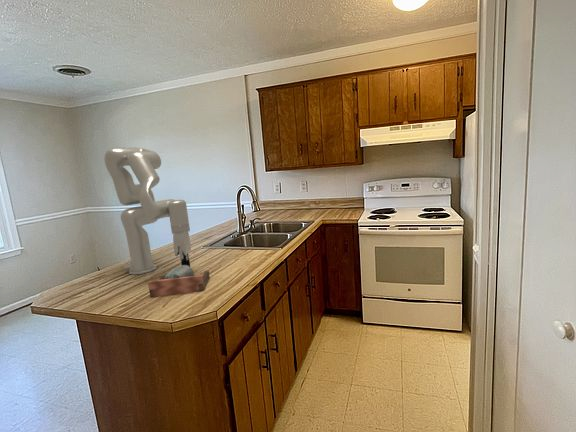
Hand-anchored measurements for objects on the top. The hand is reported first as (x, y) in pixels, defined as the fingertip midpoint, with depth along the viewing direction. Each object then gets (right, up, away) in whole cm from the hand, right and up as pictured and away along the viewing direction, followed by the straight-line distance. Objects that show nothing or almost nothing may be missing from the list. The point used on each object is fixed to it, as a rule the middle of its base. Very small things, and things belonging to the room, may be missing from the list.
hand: (186, 268), depth 139 cm
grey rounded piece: (+1, -6, -9) cm, 11 cm away
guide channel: (+1, -6, -10) cm, 12 cm away
